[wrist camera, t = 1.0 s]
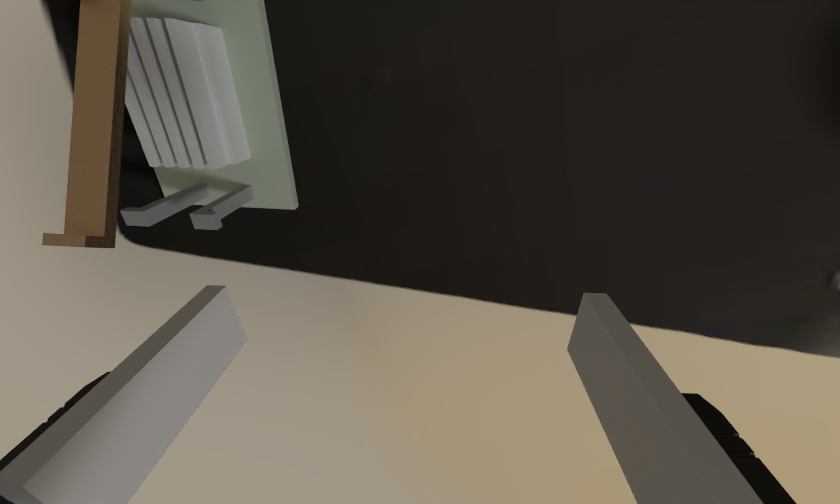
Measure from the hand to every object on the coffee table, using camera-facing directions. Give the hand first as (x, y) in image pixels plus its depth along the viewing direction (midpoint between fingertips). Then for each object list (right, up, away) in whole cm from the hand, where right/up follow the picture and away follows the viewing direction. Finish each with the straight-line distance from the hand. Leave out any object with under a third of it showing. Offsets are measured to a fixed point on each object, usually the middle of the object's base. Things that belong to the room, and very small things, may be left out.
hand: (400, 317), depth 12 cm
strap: (-23, +14, +12) cm, 29 cm away
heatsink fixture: (-22, +19, +22) cm, 36 cm away
